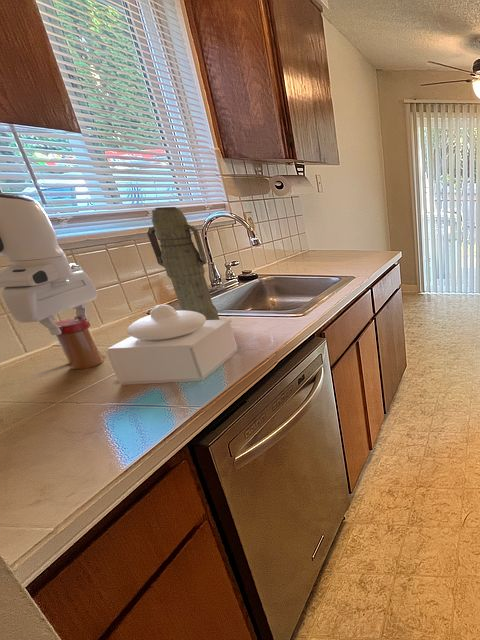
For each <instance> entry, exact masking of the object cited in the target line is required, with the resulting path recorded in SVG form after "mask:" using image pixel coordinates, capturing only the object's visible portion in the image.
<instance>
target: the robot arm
mask: <svg viewBox="0 0 480 640" xmlns="http://www.w3.org/2000/svg"><path fill="white" fill-rule="evenodd" d="M3 256H4V257H6V258H7V260H8V262H9V263H10V265H9V266H8V267H7V268H5V270H3V271H2V272H0V288H3V289H2V292H1V295H2V298H3V301H4V303H5V305H6V307H7V309H8V311H9V313H10V314H11V316H12V317H13V319H14V320H16V321H17V322H18V323H23V324H24V323H27V324H28V323H37V322H39V324H41V325H42V326H43V327H45V328H47V329H48V331H49V333H50V335H52V336H56V335H60V334H62V333H64V330H63V327H62V326H58V325H57V324H56V323H55V322H56V321H55V320H56V318H55V315H59V314H60V313H63V312H66V311H68V310H71V309H73V310H75V315H76V316H74V318H73V319H75V318H86V319H87V320H88V321H89V322H90V320H89V319H90V318H88V305H87V303H90V302H92V301H95V300H97V299H98V295H99V293H98V291H97V289H96V287H95V285H94V283H93V281H92V280H91V278H90V277H89V275H88V273H86V272H85V271H84V269H83V268H82V267H81V266H80V265H78V264H76V263H70V261H68V258H67V256H66V253H65V251H64V250H63V249H62V248H61V247H60V245H59V243H58V236H57V233H56V231H55V229H54V227H53V225H52V221H50V218H49V217H48V215H47V213H46V211H45V210H44V208H43V207H42V206H41V204H40V203H39V202H38V201H37V200H36V199H34V198H33V197H31V196H28V195H25V194H20V193H13V192H0V257H3Z"/></svg>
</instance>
